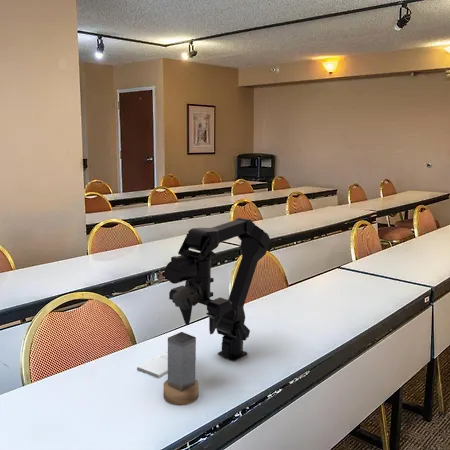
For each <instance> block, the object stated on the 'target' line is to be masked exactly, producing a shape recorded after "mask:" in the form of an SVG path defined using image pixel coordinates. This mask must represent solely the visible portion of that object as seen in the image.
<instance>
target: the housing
mask: <svg viewBox="0 0 450 450" xmlns="http://www.w3.org/2000/svg"><path fill="white" fill-rule="evenodd" d="M196 345H197V338H196V336H194V335H191V334H190V333H186V332H183V331H180V332H178V333H175V334H173V335H171V336H168V337H167V352H168V373H167V380H168V385H169V386H171V387H173V388H175V389H177V390H179V391H181V392H182V391H184V390H186V389H188V388H190V387H191V386H193V385H195V380H196V368H197V367H196V363H197V362H196V361H197V360H196V359H197V357H196V354H197V353H196V351H197V348H196V347H197V346H196Z"/></svg>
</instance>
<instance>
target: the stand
mask: <svg viewBox="0 0 450 450" xmlns="http://www.w3.org/2000/svg"><path fill="white" fill-rule="evenodd" d="M199 385H200V384H199V382H198V380H197V379H195V385H193V386H191V387H190V388H188V389H186V390H184V391H182V392H181V391H179V390H177V389H175V388H173V387H171V386H169V385H168V379H166V380H165V381H164V382H163V387H162V388H163V393H162V395H163V399H164V401H165V402H167V403H169V404H171V405H175V406H183V405H190V404H192V403H194V402H195V401H197V400H198V398H199V391H200V390H199Z"/></svg>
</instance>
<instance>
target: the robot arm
mask: <svg viewBox="0 0 450 450" xmlns="http://www.w3.org/2000/svg"><path fill="white" fill-rule="evenodd" d="M236 237H238V239H239V240H240V246H239V248H240V251H241V259H240V263H239V265H238V269H237V272H236V275H235V277H234V281H233V284H232V287H231V289H230V293H229V296H228V299H226V298H223V297H217V298H215V299H211V298H212V297H214V292H213V291H211V283H214V281H215V278H213V277H211V275H212V271H211V269H212V259H213V258H215V257H217V254H216V253H215V252H214V250H216V249H217V248H218V246H219V245H220V244H221V243H223V242H225V241H227V240H228V241H229V240H230V239H233V238H236ZM270 245H271V238H270V236H269V234H268V233H267V232H266V231H264V230H263V229H262V228H260V227H259V226H257V224H255V223H254V221H252V220H251V219H249V218H248V219H247V218H243V217H242V218H241V217H238V218H235V219H234V220H231V221H228V222H226V223H221V224H218V225H216V226H212V227H193V228H191V229H189V230H188V232H187V234H186V236H185V238H184V239H183V242H182V243H181V246H180V248H179V250H178V252H177V253H178V254H177V256H176V255H174V256H171V259H170V261H169V262H168V263H167V264H166V266H165V268H164V269H165V276H166V279H167V280H168V281H169V283H171V284H180V283H182V282H185V283H184V285H179V286H177V287H174V288H171V289H170V291H169V294H168V295H169V297H168V300H171V301H172V303H173V304H174V305H175V307H177V308H179V310H180V312H181V315H182V319H183V321H184V323H185V325H186V326H188V325H190V322H191V316H192V311H193V307H195V306H196V305H197V304H201V305H204V306H206V310H207V312H206V313H205V314H206V316H207V317H208V319H209V321H208V323H209V324H208V328H209V329H208V330H209V331H208V332H209V335H213V334H214V333H215V331H216V332H217V334H219V335H221V336H222V340H221V341H222V342H221V351H219V352H217V354H218V355H219V356H222V357H223V358H226V359H227V360H230V361H237V360H239V359H240V358H243V357H244V356H247V354H248V352H247V351H245V350H244V341H247V339H248V338H249V337H250V332H251V330H250V329H249V327H248V326H247V325H246V324H245V321H246V313H245V310H244V306H245V303H246V300H247V296H248V293H249V291H250V287H251V284H252V281H253V278H254V275H255V271H256V268H257V265H258V262H259V261H260V260H261V259H262V258H263V257H265V255H266V254H267V252H268V250H269V247H270Z"/></svg>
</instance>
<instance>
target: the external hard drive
mask: <svg viewBox="0 0 450 450" xmlns="http://www.w3.org/2000/svg"><path fill="white" fill-rule="evenodd" d="M136 370H137V371H138V372H141V373H143V374H146V375H149V376H152V377H154V378H157V379H160V378H162V377H164V376H165V375H168V351H164V352H162V353H160V354H159V355H157V356H154V357H153V358H151V359H149V360H147V361H145V362H144V363H142V364H140V365H139V366H137V367H136Z"/></svg>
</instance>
